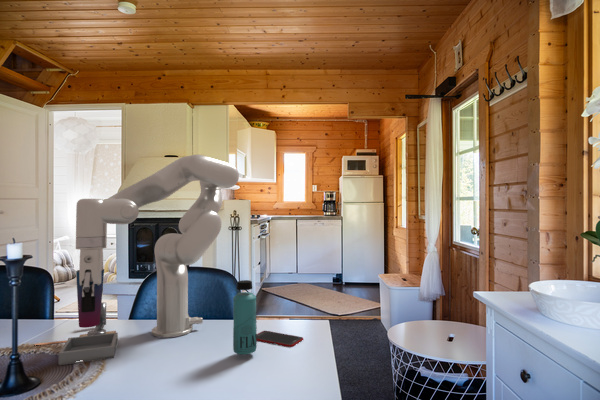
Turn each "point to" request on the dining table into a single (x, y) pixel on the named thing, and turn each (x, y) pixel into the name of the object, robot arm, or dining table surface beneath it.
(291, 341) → the cell phone
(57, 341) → the crank base
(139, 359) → the dining table surface
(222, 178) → the robot arm
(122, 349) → the dining table surface
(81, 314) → the cup
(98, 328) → the crank
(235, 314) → the beverage bottle
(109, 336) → the tray
